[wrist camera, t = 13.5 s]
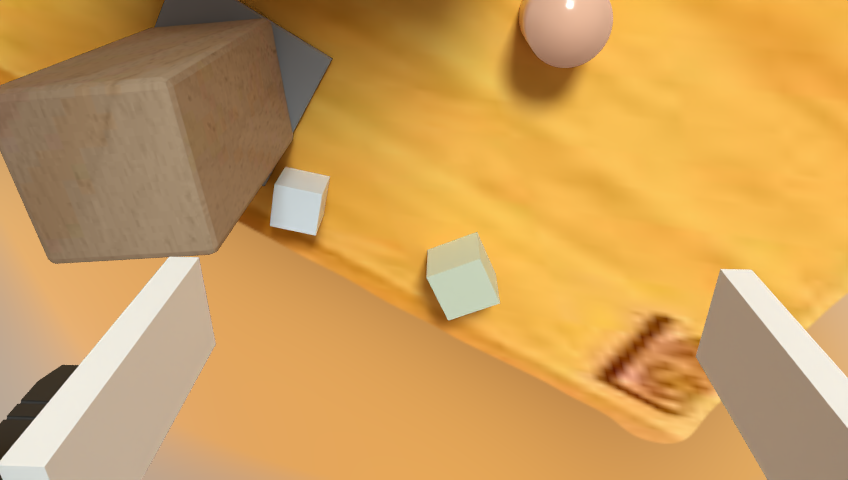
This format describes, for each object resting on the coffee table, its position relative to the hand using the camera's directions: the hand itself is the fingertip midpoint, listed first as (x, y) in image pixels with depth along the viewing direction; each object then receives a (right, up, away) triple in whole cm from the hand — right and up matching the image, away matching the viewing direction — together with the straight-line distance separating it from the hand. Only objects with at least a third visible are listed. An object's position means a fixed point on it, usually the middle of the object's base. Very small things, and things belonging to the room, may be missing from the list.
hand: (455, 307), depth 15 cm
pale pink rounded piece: (+9, +19, +31) cm, 38 cm away
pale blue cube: (-12, +6, +39) cm, 41 cm away
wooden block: (-17, +14, +34) cm, 41 cm away
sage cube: (+3, 0, +42) cm, 42 cm away
